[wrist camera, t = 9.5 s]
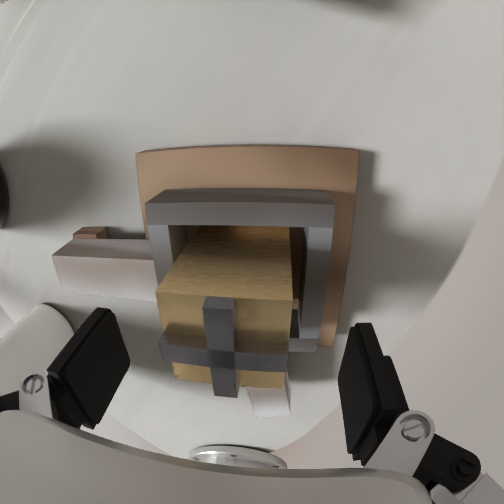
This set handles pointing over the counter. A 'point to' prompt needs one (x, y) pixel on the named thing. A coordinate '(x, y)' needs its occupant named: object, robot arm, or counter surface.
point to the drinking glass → (32, 345)
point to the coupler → (229, 308)
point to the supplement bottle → (3, 199)
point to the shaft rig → (237, 214)
